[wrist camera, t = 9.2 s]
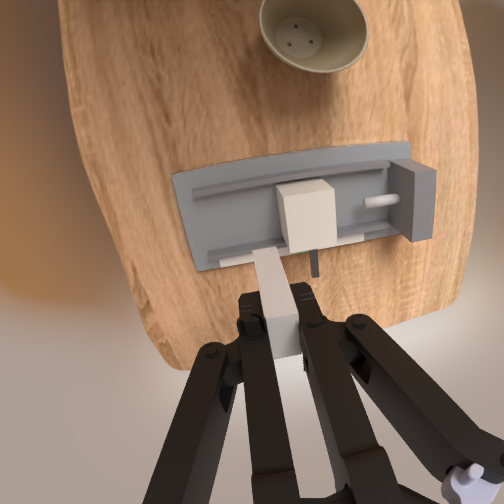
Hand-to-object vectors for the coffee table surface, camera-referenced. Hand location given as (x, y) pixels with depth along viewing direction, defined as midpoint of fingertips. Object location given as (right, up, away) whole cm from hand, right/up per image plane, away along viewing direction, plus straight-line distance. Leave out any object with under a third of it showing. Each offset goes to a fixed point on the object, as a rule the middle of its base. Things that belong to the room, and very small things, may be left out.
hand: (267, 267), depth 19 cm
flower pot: (+4, +24, +7) cm, 25 cm away
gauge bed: (+5, +7, +15) cm, 18 cm away
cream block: (+5, +5, +15) cm, 16 cm away
